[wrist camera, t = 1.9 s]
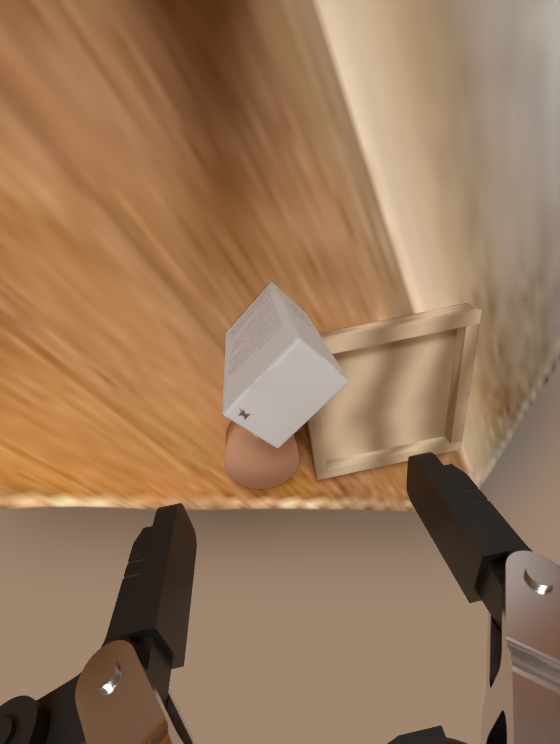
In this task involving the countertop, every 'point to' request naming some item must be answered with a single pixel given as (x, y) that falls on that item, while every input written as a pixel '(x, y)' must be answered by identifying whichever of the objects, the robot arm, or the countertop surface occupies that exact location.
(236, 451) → the tan rounded blob
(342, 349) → the maple tray
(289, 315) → the skincare box
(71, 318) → the countertop surface
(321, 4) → the countertop surface
